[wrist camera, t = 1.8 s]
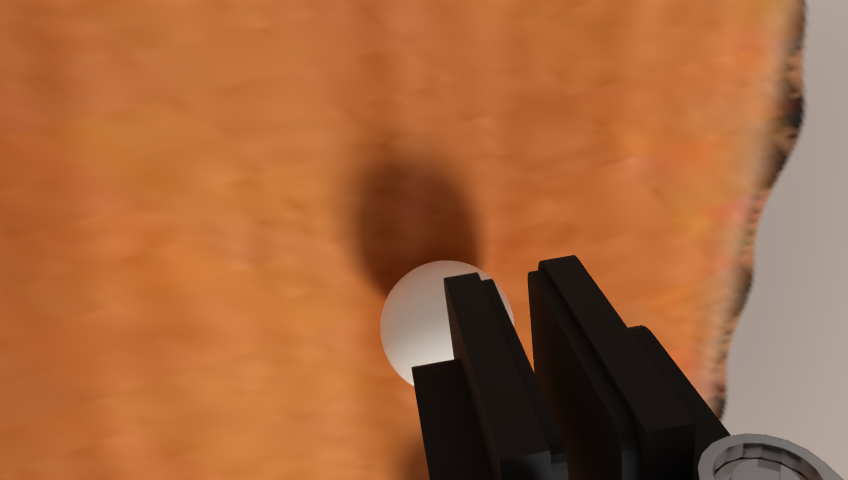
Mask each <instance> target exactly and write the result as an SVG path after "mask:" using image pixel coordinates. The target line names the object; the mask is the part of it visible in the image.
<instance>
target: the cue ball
mask: <svg viewBox="0 0 848 480" xmlns="http://www.w3.org/2000/svg"><path fill="white" fill-rule="evenodd" d="M474 272H478V274H479V276H480V278H481V280H486V279H493V278H491V277H490V276H489V275H488V274H487V273H485V272H484V271H482V270H480V269H479V268H477V267H475V266H473V265H470V264H467V263H464V262H460V261H451V260H442V261H434V262H430V263H427V264H424V265H421V266H419V267H417V268H415V269H413V270H412V271H410V272H409V273H407V274H406V275H405V276H404V277H402V278H401V279H400V280H399V281H398V282H397V283H396V284H395V286H394V287H393V289H392V290H391V292H390V293H389V295H388V297H387V299H386V301H385V304H384V307H383V310H382V314H381V321H380V334H381V341H382V345H383V349H384V352H385V354H386V356H387V358H388V360H389V362H390V364H391V365H392V367H393V368H394V369H395V371H396V372H397V373H398V374H399V375H400V376H401V377H402V378H403V379H404V380H405V381H407V382H408V383H410V384H411V385H413V386H414V381H413V375H412V369H411V367H414V366H420V365H425V364H431V363H436V362H442V361H447V360H453V359H454V355H453V348H452V341H451V334H450V326H449V319H448V312H447V305H446V297H445V290H444V278H446V277H451V276H457V275H463V274H469V273H474ZM493 281H494V283H495V285H496V287H497V290H498V292H499V294H500V296H501V299H502V301H503V303H504V306H505V308H506V310H507V312H508V315H509V317H510V319H511V322H512V324H513V326H514V319H513V313H512V310H511V307H510V304H509V301H508V299H507V297H506V295H505V293H504V292H503V290H502V289H501V287H500V286H499V285H498V284H497V283H496V282H495V280H494V279H493Z"/></svg>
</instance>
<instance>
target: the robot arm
mask: <svg viewBox="0 0 848 480" xmlns="http://www.w3.org/2000/svg"><path fill="white" fill-rule="evenodd" d="M444 290H445V297H446V305H447V312H448V319H449V326H450V334H451V341H452V348H453V355H454V359H453V360H447V361H442V362H436V363H431V364H425V365H420V366H414V367H411V369H412V375H413V381H414V387H415V393H416V399H417V405H418V411H419V417H420V423H421V429H422V435H423V441H424V447H425V453H426V459H427V465H428V471H429V477H430V480H843V478H841V477H840V476H839V475H838V474H837V473H836V472H835V471H834V470H832V468H831V467H829V466H828V465H827V464H826V463H825V462H824V461H822V460H821V459H820V458H818V457H817V456H816V455H814V454H813V453H811V452H810V451H809V450H807V449H805V448H803V447H801V446H799V445H797V444H794V443H792V442H790V441H788V440H784V439H781V438H777V437H772V436H769V435H761V434H739V435H733V436H731V435H730V434H729V432H728V431H727V430H726V428H725V427H724V426H723V425H722V423H721V422H720V421H719V419H718V418H717V417H716V415H715V414H714V413H713V412H712V410H711V409H710V408H709V406H708V405H707V404H706V402H705V401H704V400H703V399H702V397H701V396H700V395H699V393H698V392H697V391H696V389H695V388H694V387H693V385H692V384H691V383H690V382H689V380H688V379H687V378H686V376H685V375H684V374H683V372H682V371H681V370H680V369H679V367H678V366H677V365H676V363H675V362H674V361H673V359H672V358H671V357H670V356H669V354H668V353H667V352H666V350H665V349H664V348H663V346H662V345H661V344H660V343H659V341H658V340H657V339H656V337H655V336H654V335H653V333H652V332H651V331H650V330H649V329H648V328H647V327H645V326H642V325H640V326H635V327H629V328H627V326H626V325H625V323H624V322H623V321H622V319H621V318H620V316H619V315H618V314H617V312H616V311H615V309H614V308H613V307H612V305H611V304H610V302H609V301H608V300H607V298H606V297H605V295H604V294H603V293H602V291H601V290H600V289H599V287H598V286H597V284H596V283H595V282H594V280H593V279H592V277H591V276H590V275H589V273H588V272H587V270H586V269H585V268H584V266H583V265H582V263H581V262H580V261H579V259H578V258H577V257H576V256H575V255H571V256H566V257H560V258H554V259H549V260H543V261H540V262H539V266H538V271H532V272H529V273H528V291H529V305H530V318H531V332H532V346H533V359H534V372H533V369H532V367H531V365H530V363H529V360H528V358H527V356H526V353H525V351H524V349H523V347H522V344H521V342H520V340H519V337H518V335H517V333H516V331H515V328H514V326H513V324H512V322H511V319H510V317H509V315H508V312H507V310H506V308H505V306H504V303H503V301H502V299H501V296H500V294H499V292H498V290H497V287H496V285H495V283H494V281H493V279H486V280H481V278H480V276H479V274H478V272H474V273H469V274H463V275H457V276H451V277H446V278H444ZM534 373H535V374H534Z"/></svg>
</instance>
